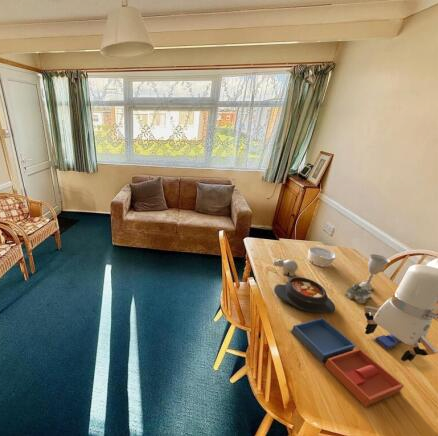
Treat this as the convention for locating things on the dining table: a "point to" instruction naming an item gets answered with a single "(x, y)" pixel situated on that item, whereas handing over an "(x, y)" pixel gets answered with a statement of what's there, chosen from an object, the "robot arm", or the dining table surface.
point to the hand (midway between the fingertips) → (386, 345)
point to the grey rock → (358, 293)
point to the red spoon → (362, 374)
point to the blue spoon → (387, 341)
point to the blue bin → (322, 339)
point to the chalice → (374, 268)
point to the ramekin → (320, 260)
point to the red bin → (373, 386)
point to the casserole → (305, 295)
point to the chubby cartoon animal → (287, 266)
